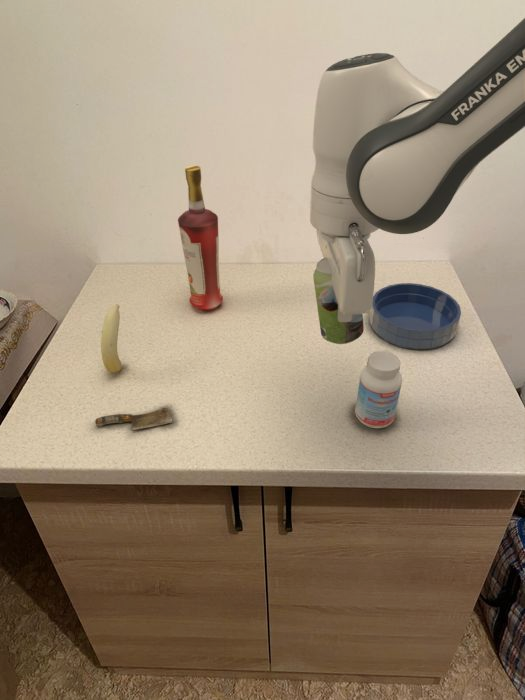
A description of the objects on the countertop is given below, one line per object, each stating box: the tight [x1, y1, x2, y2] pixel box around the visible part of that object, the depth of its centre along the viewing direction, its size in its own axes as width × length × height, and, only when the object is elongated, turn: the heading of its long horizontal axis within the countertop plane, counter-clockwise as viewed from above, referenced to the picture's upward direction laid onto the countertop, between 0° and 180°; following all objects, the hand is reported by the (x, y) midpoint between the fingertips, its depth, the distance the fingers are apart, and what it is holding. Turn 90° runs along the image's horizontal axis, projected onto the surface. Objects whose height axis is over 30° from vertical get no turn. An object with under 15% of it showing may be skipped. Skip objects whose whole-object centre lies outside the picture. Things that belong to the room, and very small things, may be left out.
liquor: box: [177, 165, 224, 312], centre depth 95 cm, size 7×7×28 cm
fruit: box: [100, 303, 122, 374], centre depth 84 cm, size 6×12×3 cm
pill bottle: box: [354, 350, 403, 429], centre depth 75 cm, size 6×6×11 cm
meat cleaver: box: [94, 406, 174, 431], centre depth 78 cm, size 12×1×5 cm
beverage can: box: [312, 257, 365, 345], centre depth 69 cm, size 6×7×12 cm
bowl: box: [368, 282, 462, 351], centre depth 96 cm, size 16×16×4 cm
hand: (338, 304), depth 69 cm, fingers closed on beverage can, 5 cm apart
